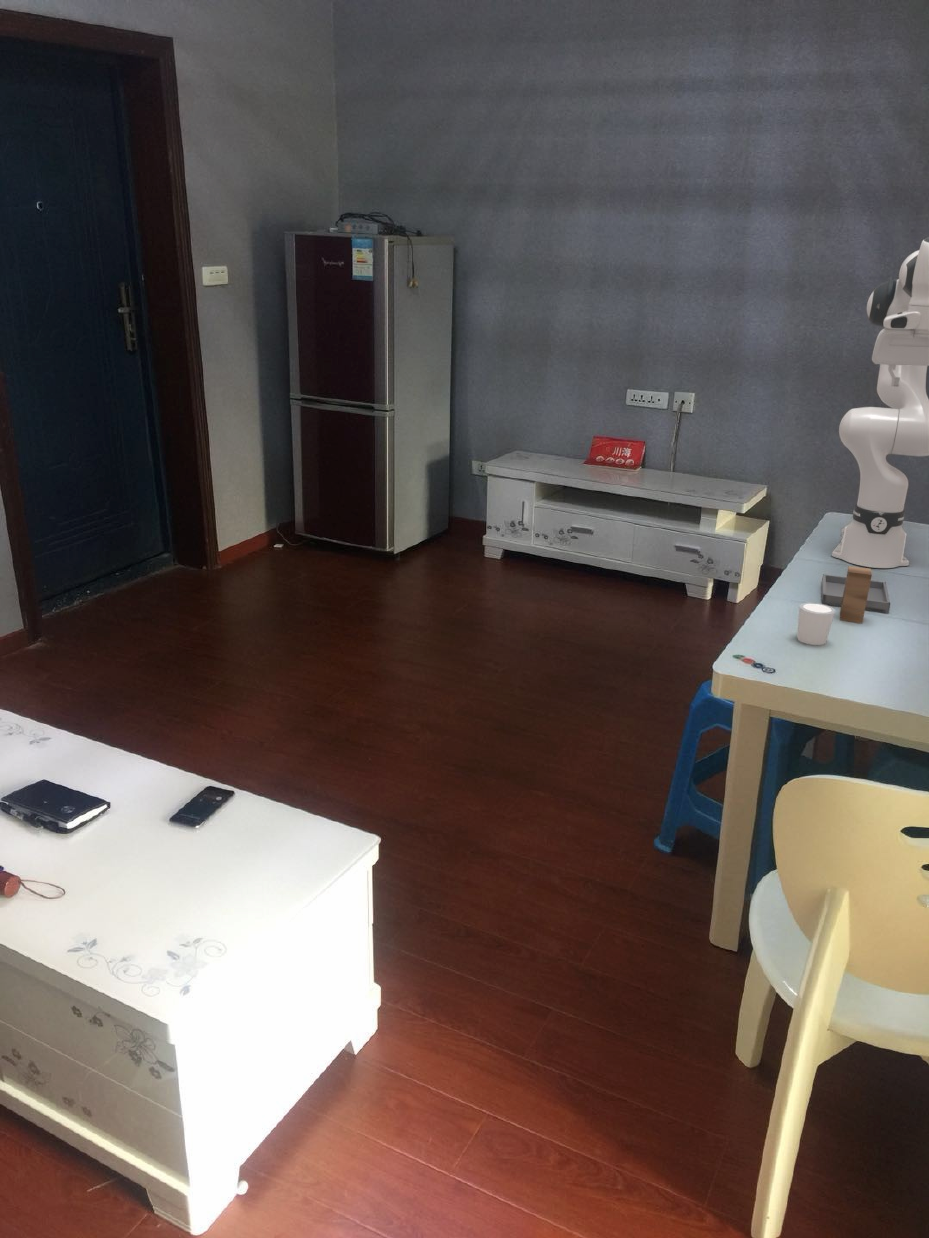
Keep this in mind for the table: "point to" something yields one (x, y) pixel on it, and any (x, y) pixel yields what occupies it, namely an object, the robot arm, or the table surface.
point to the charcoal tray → (835, 588)
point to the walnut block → (855, 594)
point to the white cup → (814, 623)
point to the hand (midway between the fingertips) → (918, 387)
